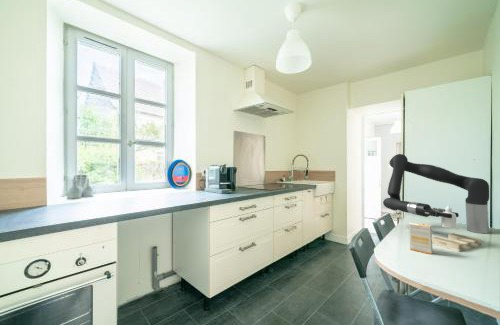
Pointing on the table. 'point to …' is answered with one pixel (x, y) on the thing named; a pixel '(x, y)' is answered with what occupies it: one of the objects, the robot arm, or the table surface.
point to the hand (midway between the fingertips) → (454, 215)
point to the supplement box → (420, 237)
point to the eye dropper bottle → (449, 219)
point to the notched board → (457, 242)
